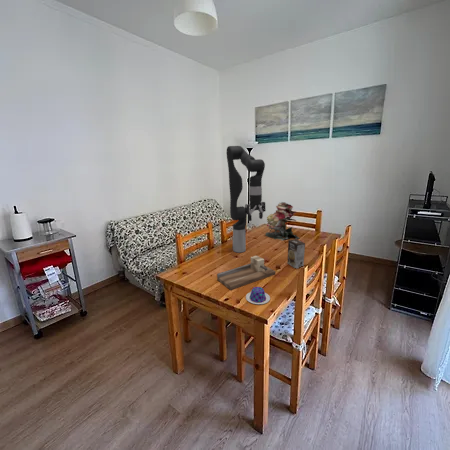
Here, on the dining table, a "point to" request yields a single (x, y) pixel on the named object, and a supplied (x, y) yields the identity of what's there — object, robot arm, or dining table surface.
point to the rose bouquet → (281, 222)
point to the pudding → (258, 296)
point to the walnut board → (242, 276)
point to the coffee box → (296, 253)
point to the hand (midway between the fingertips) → (255, 219)
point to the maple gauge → (257, 264)
